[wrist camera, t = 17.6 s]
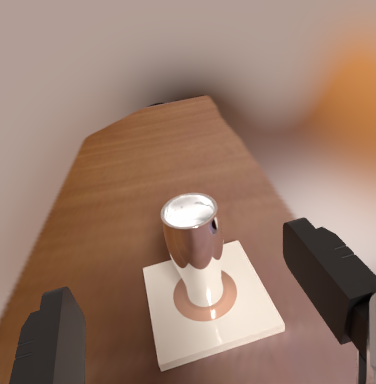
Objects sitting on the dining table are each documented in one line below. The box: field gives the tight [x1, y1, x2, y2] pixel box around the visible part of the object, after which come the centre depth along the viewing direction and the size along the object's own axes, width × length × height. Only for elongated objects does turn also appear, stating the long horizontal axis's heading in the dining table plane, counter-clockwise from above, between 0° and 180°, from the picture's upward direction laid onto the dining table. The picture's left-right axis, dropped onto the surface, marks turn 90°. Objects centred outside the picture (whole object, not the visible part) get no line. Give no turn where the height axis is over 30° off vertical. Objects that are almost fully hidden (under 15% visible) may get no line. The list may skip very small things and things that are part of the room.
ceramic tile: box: [143, 240, 285, 372], centre depth 46 cm, size 16×16×2 cm
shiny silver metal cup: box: [161, 193, 227, 311], centre depth 41 cm, size 7×7×15 cm
